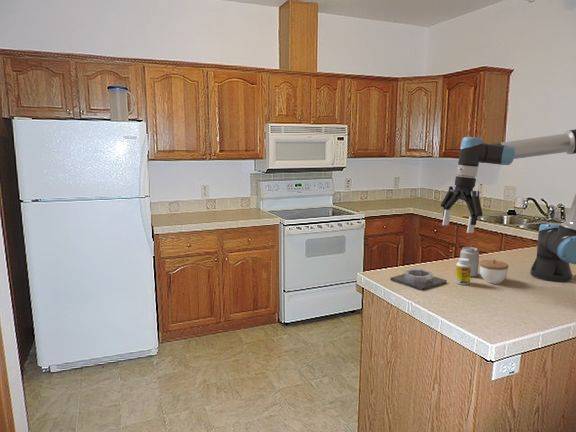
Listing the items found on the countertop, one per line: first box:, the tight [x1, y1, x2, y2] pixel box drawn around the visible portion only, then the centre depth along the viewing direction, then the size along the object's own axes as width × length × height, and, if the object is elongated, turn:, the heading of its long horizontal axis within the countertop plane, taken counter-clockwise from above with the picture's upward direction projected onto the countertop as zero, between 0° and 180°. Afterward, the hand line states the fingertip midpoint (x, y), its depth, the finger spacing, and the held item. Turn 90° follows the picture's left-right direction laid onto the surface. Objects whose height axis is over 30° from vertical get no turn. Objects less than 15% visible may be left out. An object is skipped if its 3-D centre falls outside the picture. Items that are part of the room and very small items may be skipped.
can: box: [459, 246, 480, 278], centre depth 184 cm, size 8×8×12 cm
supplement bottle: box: [454, 257, 471, 286], centre depth 173 cm, size 6×6×10 cm
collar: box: [389, 268, 448, 292], centre depth 176 cm, size 16×16×4 cm
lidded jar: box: [479, 258, 509, 285], centre depth 175 cm, size 11×11×9 cm
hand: (457, 228), depth 171 cm, fingers open, 13 cm apart
